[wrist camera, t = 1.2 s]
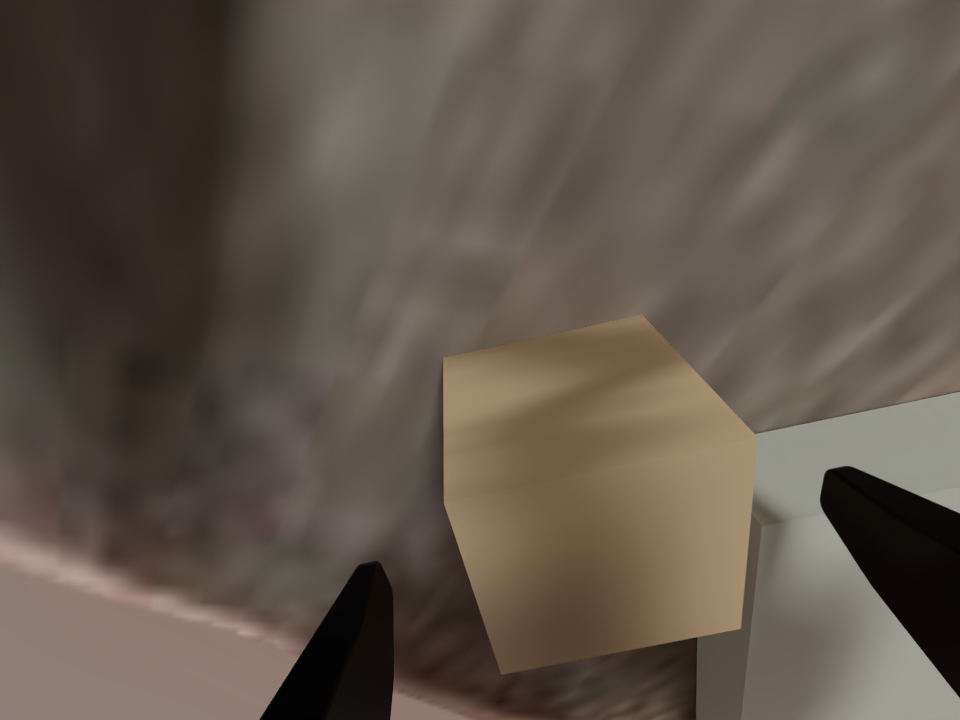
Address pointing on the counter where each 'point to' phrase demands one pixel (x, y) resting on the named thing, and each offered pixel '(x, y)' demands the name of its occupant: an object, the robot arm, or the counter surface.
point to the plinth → (830, 580)
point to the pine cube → (595, 494)
